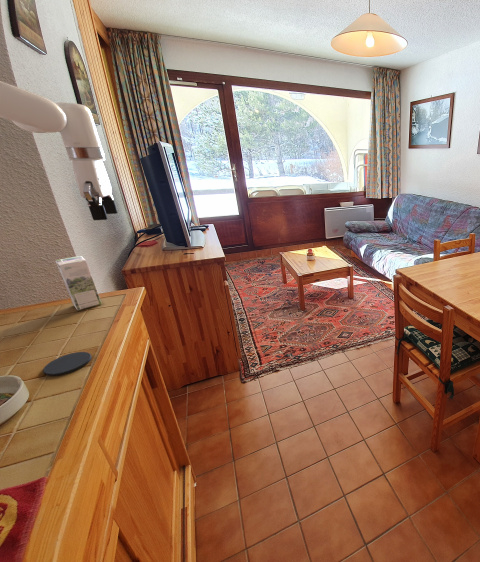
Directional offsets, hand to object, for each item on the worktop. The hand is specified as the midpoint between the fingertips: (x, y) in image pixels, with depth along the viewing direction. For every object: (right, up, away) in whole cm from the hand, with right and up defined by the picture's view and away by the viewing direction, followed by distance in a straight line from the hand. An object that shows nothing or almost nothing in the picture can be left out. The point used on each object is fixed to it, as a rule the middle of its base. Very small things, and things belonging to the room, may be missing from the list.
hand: (106, 216), depth 92 cm
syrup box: (-6, -27, +1) cm, 27 cm away
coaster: (+13, -37, -24) cm, 47 cm away
